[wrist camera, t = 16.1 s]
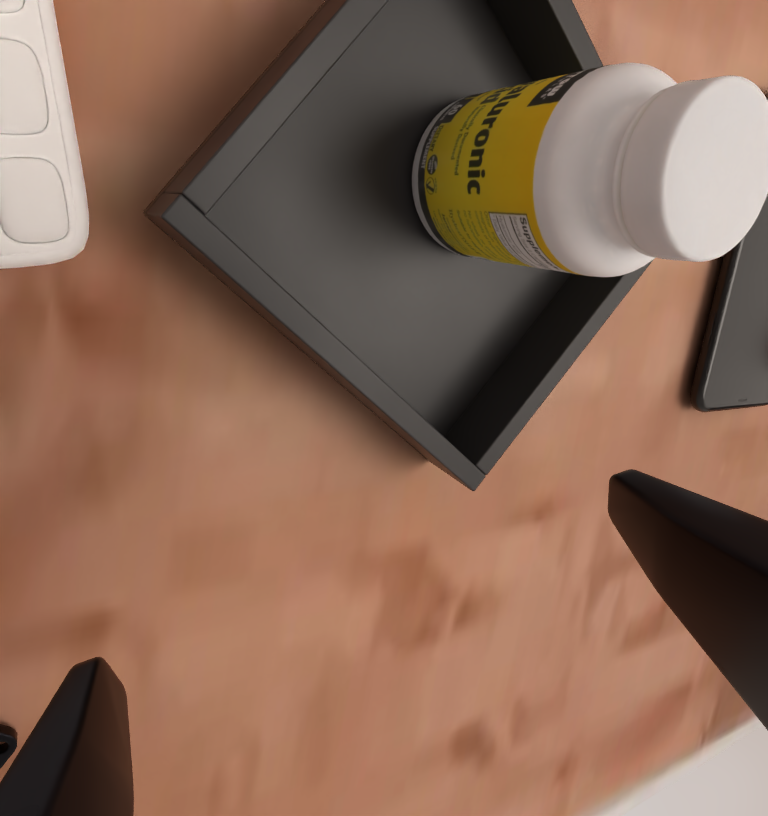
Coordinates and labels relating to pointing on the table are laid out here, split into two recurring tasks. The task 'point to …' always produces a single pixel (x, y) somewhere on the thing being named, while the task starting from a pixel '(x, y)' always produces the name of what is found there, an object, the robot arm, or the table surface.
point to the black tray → (390, 220)
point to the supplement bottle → (596, 170)
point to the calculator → (37, 143)
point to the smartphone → (737, 329)
